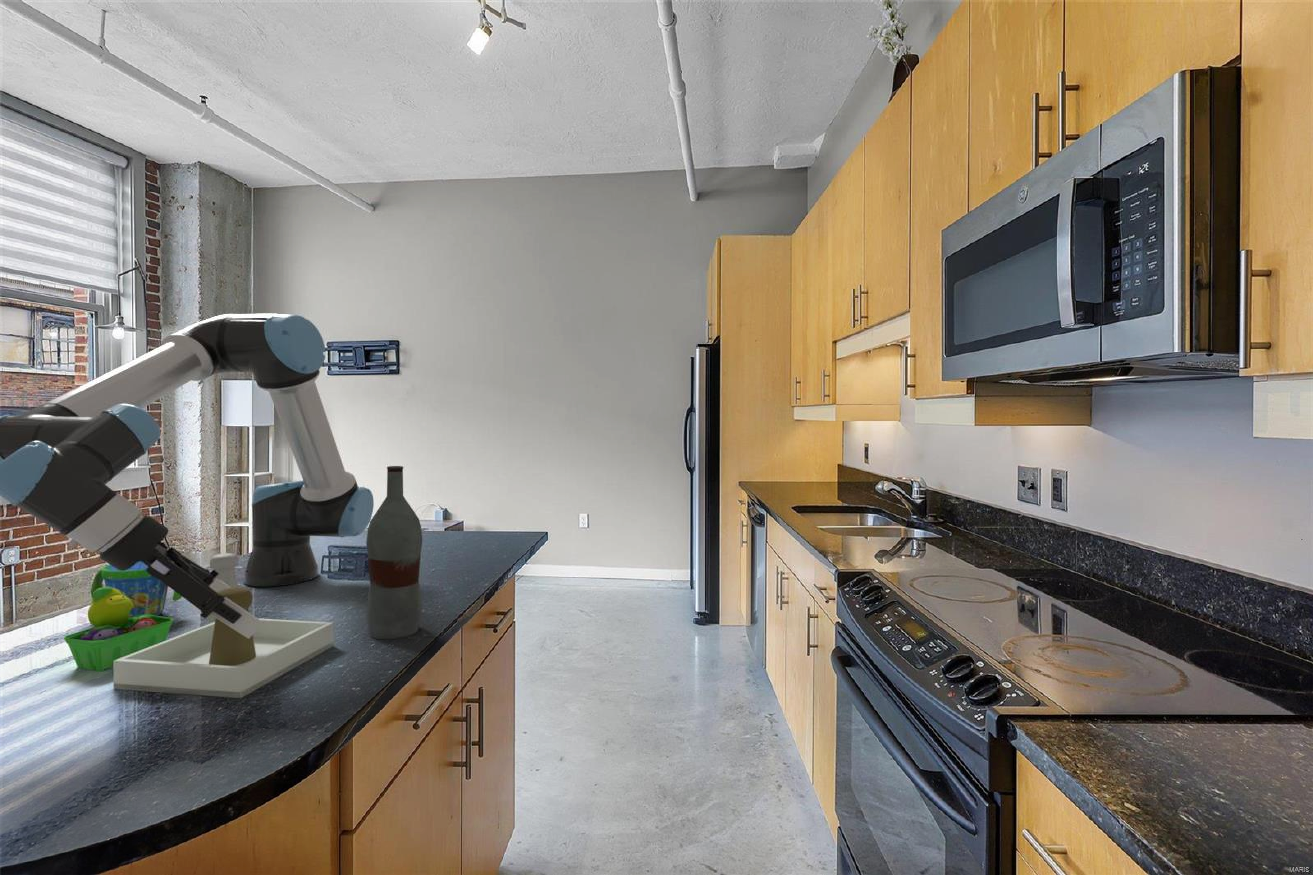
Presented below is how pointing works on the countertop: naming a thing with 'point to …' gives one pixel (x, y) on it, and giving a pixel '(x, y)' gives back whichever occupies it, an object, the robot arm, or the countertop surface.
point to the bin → (189, 672)
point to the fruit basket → (114, 631)
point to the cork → (232, 634)
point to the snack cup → (136, 588)
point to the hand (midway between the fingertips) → (250, 618)
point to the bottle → (394, 564)
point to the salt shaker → (224, 572)
